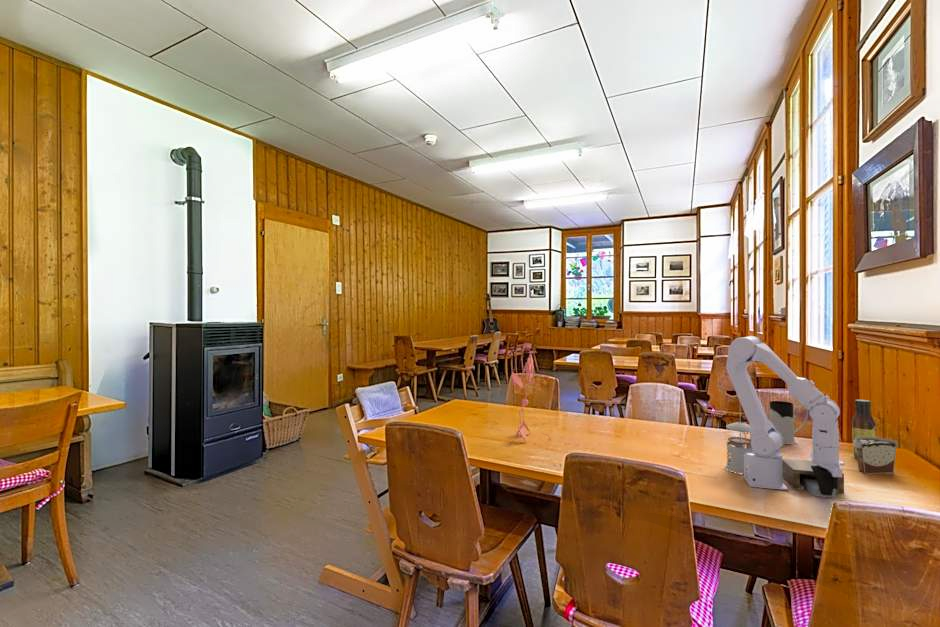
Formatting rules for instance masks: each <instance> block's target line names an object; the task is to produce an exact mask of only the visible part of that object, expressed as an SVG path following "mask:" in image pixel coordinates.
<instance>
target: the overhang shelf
mask: <svg viewBox="0 0 940 627" xmlns="http://www.w3.org/2000/svg"><path fill="white" fill-rule="evenodd" d="M811 466H817V465H816V464H814V463H812V460H807V459H795V458H794V459H792V458H782V477H783V479H784V480H785V481H786V482H787V483H788V484H789V485H790V486H791V487H792V488H793V489H796V490H805V487H804V479H812V480H817V479H816V476H815V474H814V472H813V470H812V468H811ZM800 480H801V481H800ZM834 489H835V492H838V493H837V494H845V473H843V472H842V478H841V477H839V478H838V480H837V481H836V484H835V486H834Z"/></svg>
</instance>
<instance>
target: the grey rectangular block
mask: <svg viewBox="0 0 940 627" xmlns="http://www.w3.org/2000/svg"><path fill="white" fill-rule="evenodd" d="M803 486H804V489H806V490H807V491H808V492H809V491H810V493H811V494H812V495H813V497H823V496H825V497H826V498H833V497H835V498H836V493H835V489H833V493H832V495H831V496H829V495H822V494H821V492H820V489H819V486H818V482H817V480H812V479H804V485H803ZM825 497H824V498H825Z"/></svg>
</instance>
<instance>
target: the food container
mask: <svg viewBox="0 0 940 627" xmlns="http://www.w3.org/2000/svg"><path fill="white" fill-rule="evenodd" d="M853 445H854V446H855V447H856V451H857V458H856V459H857V464H858V465H857V466H858V471H859V472H860V473H861V472H862V474H863V473H864V474H863V475H875V474H874V473H886V474H894V473H895V463H896V454H897V453H896V452H897V448H899V445H898V443H897V440H893V439H888V438H884V437H877V436H876V437H857V438H855V440H854V443H853V442H852V446H853Z"/></svg>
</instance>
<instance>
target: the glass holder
mask: <svg viewBox="0 0 940 627" xmlns="http://www.w3.org/2000/svg"><path fill="white" fill-rule="evenodd" d="M800 408H804V409H805V417H804V421H803V422H802V424H801V425H800V426H799V427H798V428H796V429H795V417H797V416H798V410H800ZM768 413H769V415H768V419H769V421H771V422H772V424H773V425H774V427H775V429H776V430H777V431H778V432H779V433H780V434H781V435H782V437H783V440H784V443H783V445H785V444H793V445H796V444H795V443H796V441H795V434H796V433H797V432H798V431H800V430H801V429H802V428H803V426H805V424H806V422H807V420H808V417H809V416H808V415H809V410H808V409H806V408H805V406H803V405H799V406H796V408H795V412H794V403H792V402H789V401H783V400H782V401H780V400H772V401H769V412H768Z"/></svg>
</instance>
